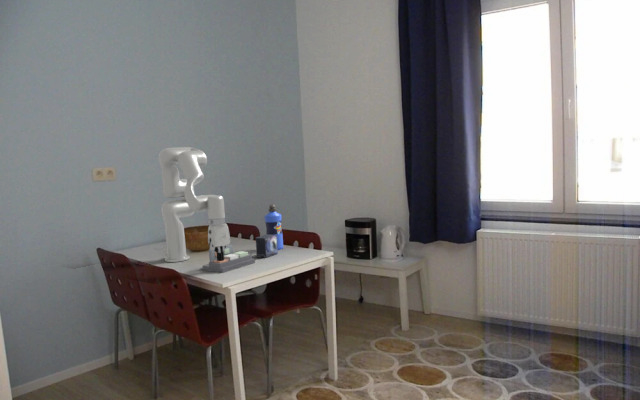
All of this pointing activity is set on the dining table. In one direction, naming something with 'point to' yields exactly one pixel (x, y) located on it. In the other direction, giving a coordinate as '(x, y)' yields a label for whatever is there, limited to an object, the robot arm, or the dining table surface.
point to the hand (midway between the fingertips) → (220, 260)
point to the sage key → (241, 253)
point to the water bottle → (274, 225)
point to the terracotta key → (220, 261)
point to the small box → (266, 246)
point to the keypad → (228, 264)
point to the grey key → (231, 256)
